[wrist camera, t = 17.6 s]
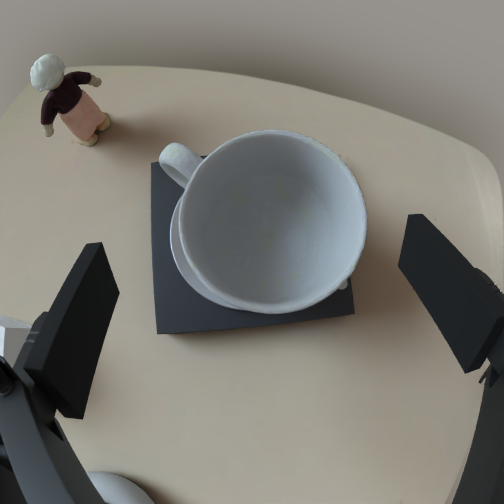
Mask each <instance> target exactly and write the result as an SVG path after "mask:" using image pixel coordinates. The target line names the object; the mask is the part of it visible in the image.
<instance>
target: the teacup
mask: <svg viewBox="0 0 504 504" xmlns="http://www.w3.org/2000/svg"><path fill="white" fill-rule="evenodd" d="M159 163H160V166H161V167H162V168H163V170H164V171H165V172H166V173H167V174H168V175H169V176H170V177H171V178H172V179H173V180H175V181H176V182H177V183H178V184H179V185H180V186H182V187H183V188H184V189H185V191H184V194H183V197H182V200H181V203H180V209H179V219H178V225H179V237H180V242H181V246H182V249H183V252H184V254H185V257H186V259H187V261H188V263H189V265H190V267H191V269H192V270H193V271H194V273H195V274H196V275H197V277H198V278H199V280H200V281H201V282H202V283H203V284H204V285H205V286H206V287H207V288H208V289H209V290H210V291H211V292H212V293H214V294H215V295H216V296H217V297H219V298H220V299H222V300H224V301H225V302H227V303H229V304H231V305H233V306H236V307H239V308H241V309H244V310H247V311H251V312H256V313H263V314H282V313H291V312H295V311H300V310H303V309H306V308H308V307H310V306H313V305H315V304H317V303H319V302H321V301H322V300H324V299H326V298H327V297H328V296H329V295H331V294H332V293H333V292H335V291H336V290H337V289H338V288H339V287H340V286H341V285H342V284H343V283H344V282H345V281H346V280H347V279H348V278H349V276H350V275H351V274H352V272H353V271H354V269H355V267H356V265H357V263H358V261H359V259H360V257H361V255H362V252H363V249H364V246H365V242H366V236H367V210H366V204H365V201H364V198H363V194H362V191H361V189H360V186H359V184H358V182H357V180H356V178H355V177H354V175H353V173H352V172H351V170H350V169H349V168H348V167H347V165H346V164H345V163H344V161H343V160H342V159H341V158H340V157H339V156H338V155H336V154H335V153H334V152H333V151H332V150H330V149H329V148H328V147H326V146H325V145H324V144H322V143H319V142H317V141H316V140H315V139H311V138H308V137H306V136H303V135H301V134H299V133H294V132H290V131H284V130H261V131H255V132H249V133H247V134H243V135H240V136H237V137H235V138H233V139H231V140H229V141H228V142H226V143H224V144H223V145H221V146H220V147H218V148H217V149H215V150H214V151H213V152H212V153H211V154H210V155H208V156H207V157H206V158H205V159H204V160H203V159H202V158H201V157H200V156H199V155H197V154H196V153H195V152H193V151H192V150H191V149H189V148H188V147H186V146H184V145H182V144H179V143H171V144H169V145H168V146H166V147H165V148H164V150H163V151H162V153H161V154H160V157H159Z"/></svg>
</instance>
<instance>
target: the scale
mask: <svg viewBox="0 0 504 504" xmlns="http://www.w3.org/2000/svg"><path fill="white" fill-rule="evenodd" d="M207 156H208V155H207ZM207 156H200V157H201V158H202V159H203V160H204V159H205V158H206V157H207ZM184 191H185V189H184V188H183V187H182V186H180V185H179V184H178V183H177V182H176V181H175V180H173V179H172V178H171V177H170V176H169V175H168V174H167V173H166V172H165V171H164V170H163V168H162V167H161V166H160V163H159V162H154V163H151V240H152V267H153V285H154V301H155V314H156V326H157V334H173V333H188V332H202V331H215V330H226V329H237V328H248V327H257V326H267V325H276V324H284V323H293V322H300V321H308V320H316V319H323V318H330V317H337V316H344V315H350V314H355V311H354V302H353V294H352V287H351V279H350V276H349V278H348V279H347V280H346V281H345V282H344V283H343V284H342V285H341V286H340V287H339V288H338V289H337V290H336V291H335V292H333V293H332V294H331V295H329V296H328V297H327V298H326V299H324V300H322V301H321V302H319V303H317V304H315V305H313V306H310V307H308V308H306V309H303V310H300V311H295V312H291V313H282V314H263V313H256V312H251V311H247V310H236V309H231V308H227V307H223V306H221V305H218V304H215V303H213V302H212V301H210V300H208V299H206V298H204V297H203V296H202V295H200V294H199V293H198V292H196V291H195V290H194V289H193V288H192V287H191V286H190V285H189V284H188V283H187V281H186V280H185V279H184V277H183V276H182V274H181V273H180V271H179V269H178V267H177V265H176V263H175V260H174V258H173V254H172V250H171V243H170V227H171V221H172V217H173V213H174V210H175V208H176V205H177V203H178V201H179V199H180V198H181V196H182V195H183V193H184Z"/></svg>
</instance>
